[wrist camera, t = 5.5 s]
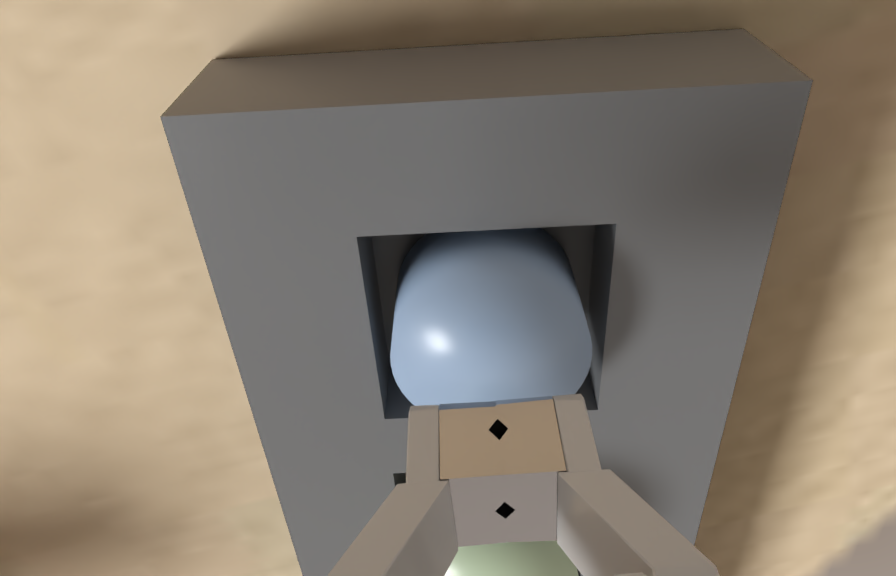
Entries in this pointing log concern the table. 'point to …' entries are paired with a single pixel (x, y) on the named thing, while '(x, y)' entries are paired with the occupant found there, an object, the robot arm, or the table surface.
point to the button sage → (512, 560)
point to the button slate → (488, 319)
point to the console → (487, 208)
